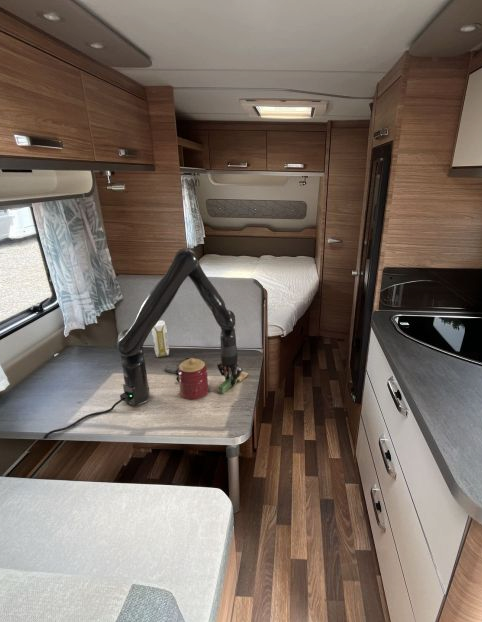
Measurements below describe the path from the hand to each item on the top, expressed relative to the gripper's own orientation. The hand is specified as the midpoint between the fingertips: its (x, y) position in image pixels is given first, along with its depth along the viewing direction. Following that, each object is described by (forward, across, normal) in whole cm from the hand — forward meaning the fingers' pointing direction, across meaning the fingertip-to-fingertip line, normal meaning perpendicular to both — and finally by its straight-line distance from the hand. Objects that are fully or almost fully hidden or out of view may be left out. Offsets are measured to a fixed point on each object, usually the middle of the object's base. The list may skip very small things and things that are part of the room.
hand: (230, 384), depth 162 cm
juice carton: (+1, -53, +9) cm, 54 cm away
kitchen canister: (+1, -12, -12) cm, 17 cm away
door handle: (+1, -30, 0) cm, 30 cm away
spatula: (0, 0, +1) cm, 2 cm away
